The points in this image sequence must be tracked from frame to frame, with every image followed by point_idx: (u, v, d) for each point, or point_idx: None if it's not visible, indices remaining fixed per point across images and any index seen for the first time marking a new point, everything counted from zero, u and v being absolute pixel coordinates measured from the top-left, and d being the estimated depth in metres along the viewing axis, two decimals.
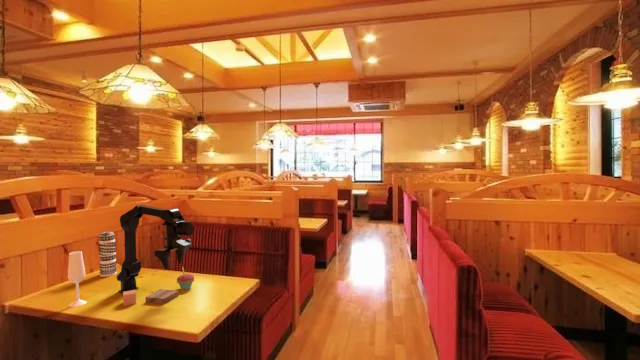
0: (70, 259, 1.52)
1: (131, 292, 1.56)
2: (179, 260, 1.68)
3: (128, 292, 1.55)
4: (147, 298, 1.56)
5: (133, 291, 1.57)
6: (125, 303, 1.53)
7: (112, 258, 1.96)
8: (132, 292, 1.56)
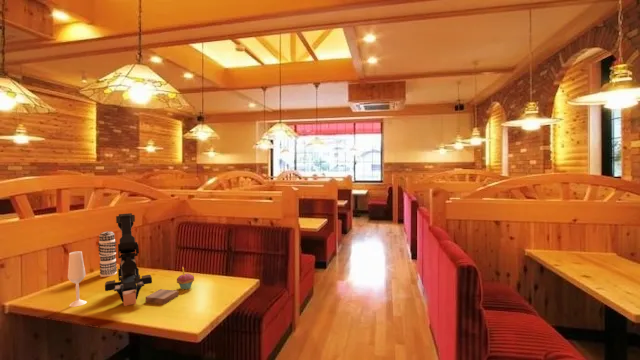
0: (70, 259, 1.52)
1: (131, 292, 1.56)
2: None
3: (128, 292, 1.55)
4: (147, 298, 1.56)
5: (133, 291, 1.57)
6: (125, 303, 1.53)
7: (112, 258, 1.96)
8: (132, 292, 1.56)
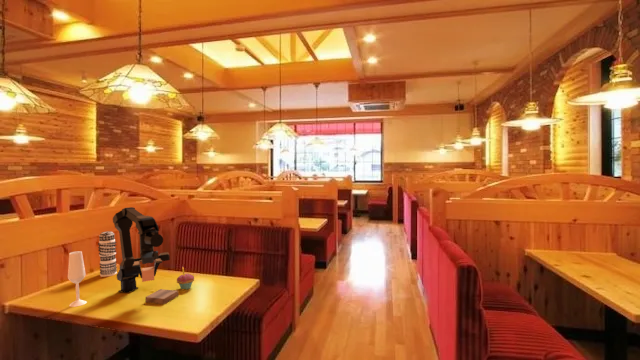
0: (70, 259, 1.52)
1: (149, 268, 1.57)
2: (154, 272, 1.58)
3: (146, 269, 1.57)
4: (147, 298, 1.56)
5: (151, 268, 1.58)
6: (143, 279, 1.54)
7: (112, 258, 1.96)
8: (150, 268, 1.57)
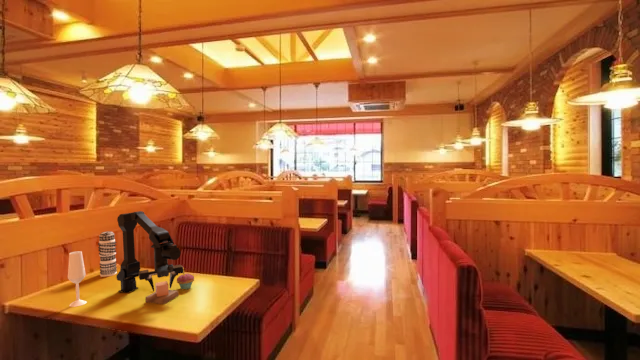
0: (70, 259, 1.52)
1: (163, 283, 1.59)
2: (169, 284, 1.61)
3: (160, 283, 1.59)
4: (147, 298, 1.56)
5: (165, 282, 1.61)
6: (158, 294, 1.56)
7: (112, 258, 1.96)
8: (164, 283, 1.59)
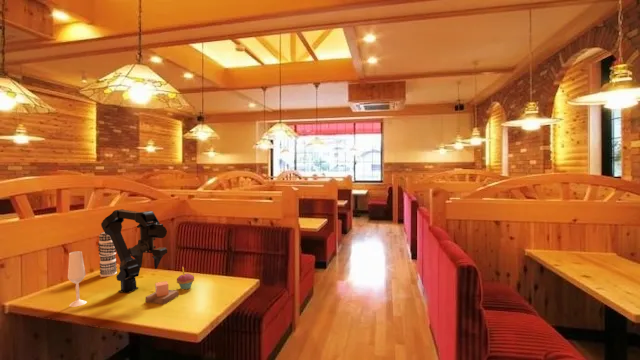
0: (70, 259, 1.52)
1: (163, 283, 1.59)
2: None
3: (160, 283, 1.59)
4: (147, 298, 1.56)
5: (165, 282, 1.61)
6: (158, 294, 1.56)
7: (112, 258, 1.96)
8: (164, 283, 1.59)
